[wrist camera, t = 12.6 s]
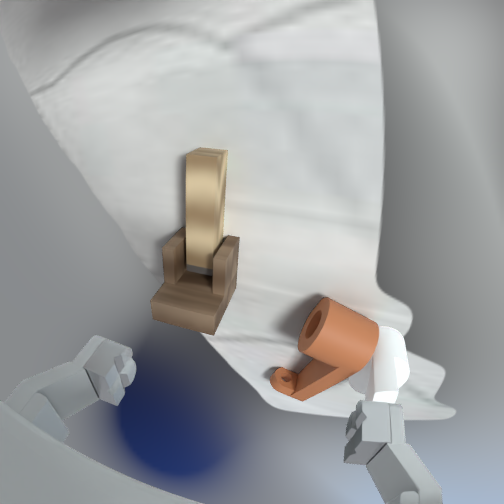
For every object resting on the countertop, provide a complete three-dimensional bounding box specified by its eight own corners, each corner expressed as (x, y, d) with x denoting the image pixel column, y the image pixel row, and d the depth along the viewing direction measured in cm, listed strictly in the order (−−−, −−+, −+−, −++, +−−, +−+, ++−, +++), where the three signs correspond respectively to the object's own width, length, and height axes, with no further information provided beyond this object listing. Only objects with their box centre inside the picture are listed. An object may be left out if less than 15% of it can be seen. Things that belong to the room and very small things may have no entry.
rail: (199, 147, 36) (186, 154, 33) (227, 150, 36) (216, 157, 32) (197, 255, 44) (186, 270, 40) (222, 260, 43) (212, 276, 40)
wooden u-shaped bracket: (182, 227, 42) (146, 265, 34) (239, 237, 41) (214, 280, 32) (183, 276, 46) (152, 319, 38) (236, 287, 45) (213, 335, 36)
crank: (330, 286, 42) (328, 325, 35) (376, 310, 42) (381, 350, 35) (265, 366, 52) (255, 402, 45) (305, 383, 52) (299, 420, 46)
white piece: (350, 326, 44) (350, 391, 34) (409, 325, 42) (422, 389, 31) (346, 366, 48) (343, 428, 38) (399, 365, 46) (405, 426, 35)
